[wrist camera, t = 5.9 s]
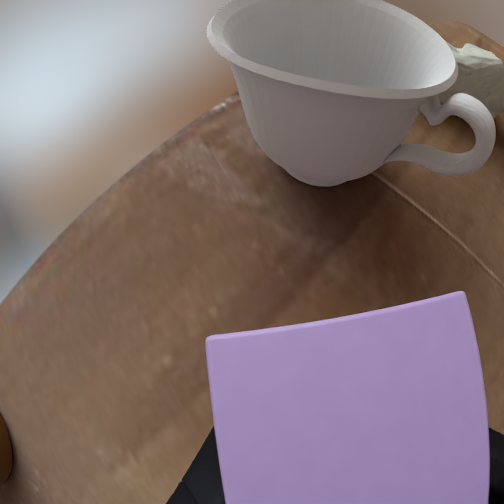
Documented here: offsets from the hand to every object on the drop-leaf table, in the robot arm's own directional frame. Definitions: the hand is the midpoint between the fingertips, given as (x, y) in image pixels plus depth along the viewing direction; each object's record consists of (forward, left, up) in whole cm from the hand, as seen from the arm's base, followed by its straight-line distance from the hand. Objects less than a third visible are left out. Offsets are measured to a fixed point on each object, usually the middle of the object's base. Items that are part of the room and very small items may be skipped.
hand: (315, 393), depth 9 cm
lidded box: (-1, +1, -7) cm, 7 cm away
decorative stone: (+5, -29, -7) cm, 30 cm away
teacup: (+7, -12, -7) cm, 15 cm away
